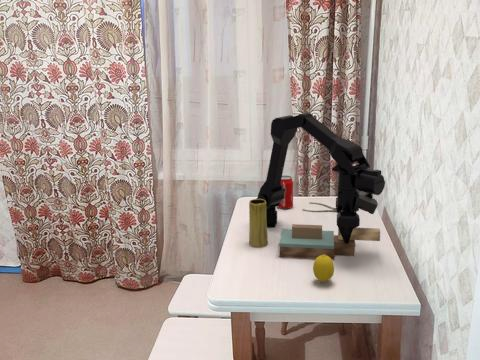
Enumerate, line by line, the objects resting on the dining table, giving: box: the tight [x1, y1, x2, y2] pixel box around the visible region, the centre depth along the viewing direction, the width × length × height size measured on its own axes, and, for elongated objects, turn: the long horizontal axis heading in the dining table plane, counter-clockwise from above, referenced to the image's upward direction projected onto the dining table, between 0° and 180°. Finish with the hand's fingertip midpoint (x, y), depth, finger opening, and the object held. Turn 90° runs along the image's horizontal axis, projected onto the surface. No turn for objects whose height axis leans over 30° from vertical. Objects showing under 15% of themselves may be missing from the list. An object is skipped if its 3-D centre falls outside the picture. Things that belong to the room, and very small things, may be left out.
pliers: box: [301, 201, 358, 213], centre depth 181 cm, size 10×1×20 cm
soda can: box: [277, 175, 294, 210], centre depth 182 cm, size 6×6×12 cm
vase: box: [248, 198, 269, 248], centre depth 150 cm, size 6×6×14 cm
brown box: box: [278, 234, 356, 261], centre depth 145 cm, size 22×11×4 cm, turn 80°
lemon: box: [312, 254, 335, 283], centre depth 126 cm, size 6×6×8 cm
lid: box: [278, 223, 335, 249], centre depth 145 cm, size 16×11×5 cm
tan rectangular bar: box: [337, 227, 381, 242], centre depth 142 cm, size 12×2×3 cm, turn 80°
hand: (345, 237), depth 143 cm, fingers open, 9 cm apart
